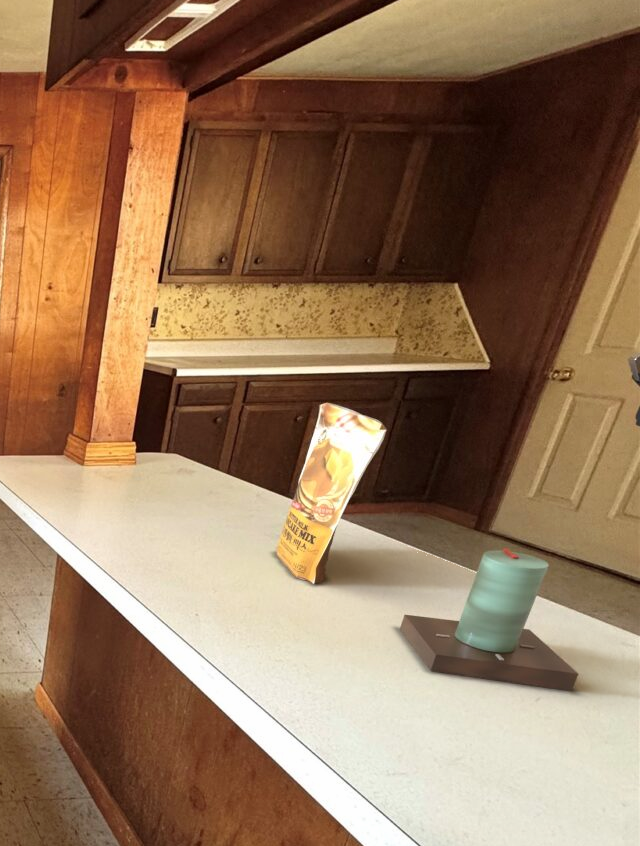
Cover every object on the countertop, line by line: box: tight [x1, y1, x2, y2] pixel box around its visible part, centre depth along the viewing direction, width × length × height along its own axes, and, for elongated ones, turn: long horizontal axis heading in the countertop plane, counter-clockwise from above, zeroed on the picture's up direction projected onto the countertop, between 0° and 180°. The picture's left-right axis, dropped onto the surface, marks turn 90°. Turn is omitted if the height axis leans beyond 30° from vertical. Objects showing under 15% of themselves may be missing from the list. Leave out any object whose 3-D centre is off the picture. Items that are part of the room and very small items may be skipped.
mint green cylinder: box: [455, 548, 550, 653], centre depth 86 cm, size 6×6×12 cm
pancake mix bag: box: [276, 402, 388, 585], centre depth 113 cm, size 7×19×28 cm, turn 164°
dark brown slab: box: [399, 614, 579, 692], centre depth 89 cm, size 14×12×3 cm
